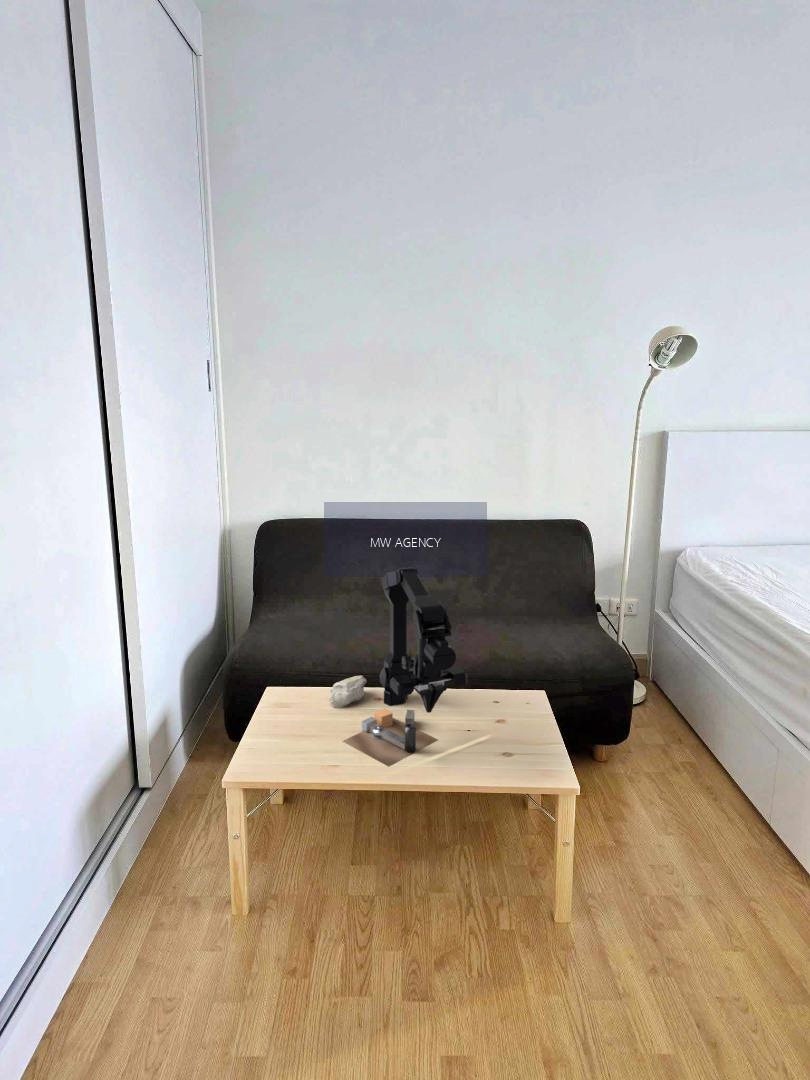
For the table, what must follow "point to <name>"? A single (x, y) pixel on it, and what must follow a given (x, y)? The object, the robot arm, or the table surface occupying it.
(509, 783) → the table surface
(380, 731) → the lever
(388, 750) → the press bench
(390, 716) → the block
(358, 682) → the fossil replica
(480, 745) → the table surface
